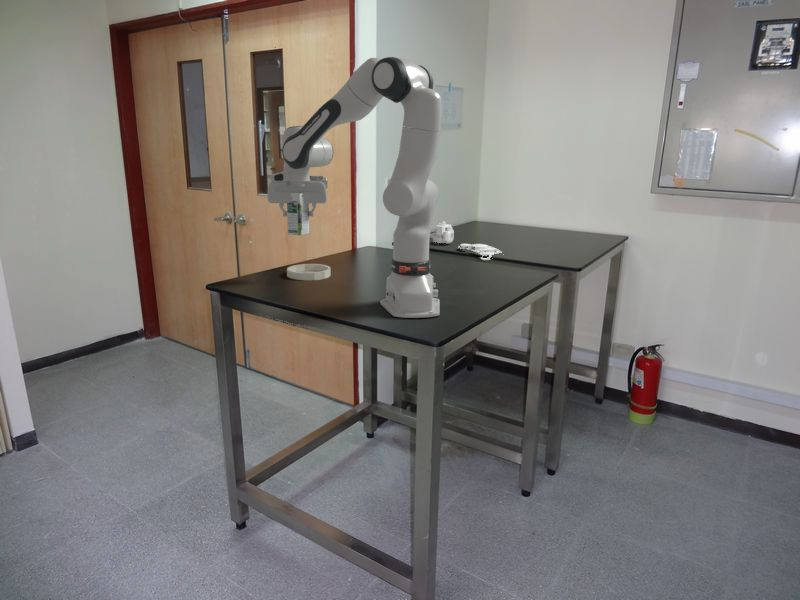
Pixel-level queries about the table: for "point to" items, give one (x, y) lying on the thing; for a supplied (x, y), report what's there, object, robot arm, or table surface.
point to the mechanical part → (443, 233)
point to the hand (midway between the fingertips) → (298, 216)
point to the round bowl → (309, 272)
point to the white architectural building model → (481, 250)
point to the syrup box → (298, 215)
